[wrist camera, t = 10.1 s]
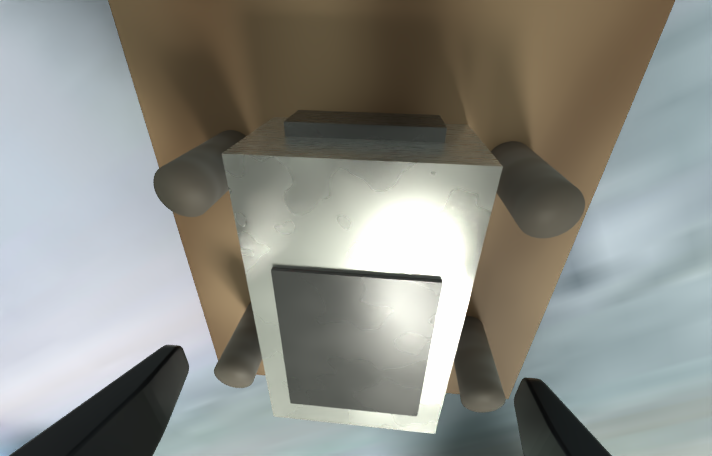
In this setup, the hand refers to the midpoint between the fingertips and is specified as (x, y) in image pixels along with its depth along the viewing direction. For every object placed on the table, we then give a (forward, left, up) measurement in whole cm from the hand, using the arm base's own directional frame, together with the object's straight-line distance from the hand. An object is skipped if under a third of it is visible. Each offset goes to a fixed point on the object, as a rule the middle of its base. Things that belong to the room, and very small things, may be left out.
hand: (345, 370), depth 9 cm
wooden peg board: (0, 0, -7) cm, 7 cm away
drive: (0, 0, -6) cm, 6 cm away
